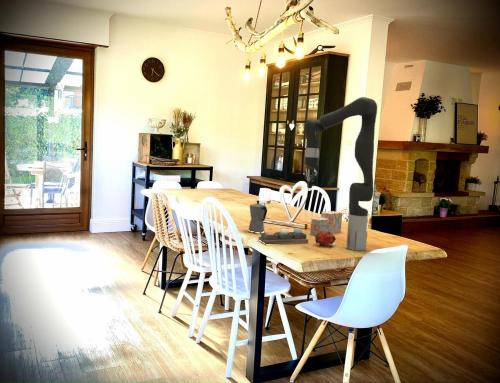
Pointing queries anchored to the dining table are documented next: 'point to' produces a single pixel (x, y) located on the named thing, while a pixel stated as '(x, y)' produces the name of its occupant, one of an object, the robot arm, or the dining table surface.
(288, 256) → the dining table surface
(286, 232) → the cream button
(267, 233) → the terracotta button
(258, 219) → the coffeepot
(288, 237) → the button board
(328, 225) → the stack of blocks
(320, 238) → the dragon fruit
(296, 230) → the slate button
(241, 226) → the dining table surface
